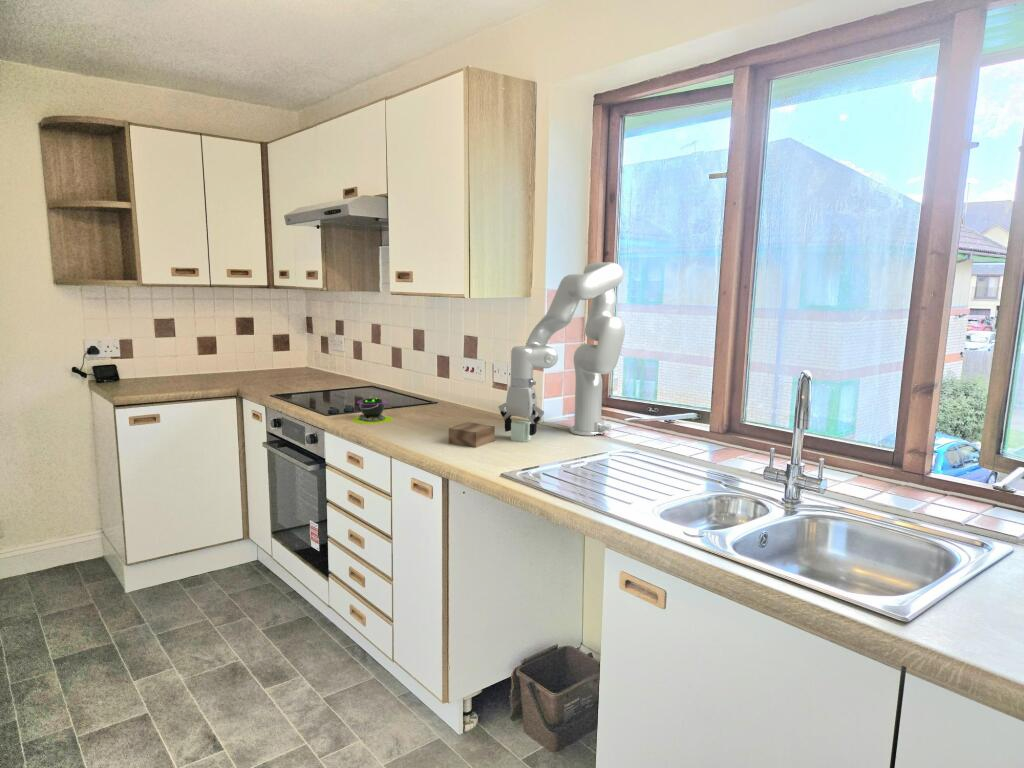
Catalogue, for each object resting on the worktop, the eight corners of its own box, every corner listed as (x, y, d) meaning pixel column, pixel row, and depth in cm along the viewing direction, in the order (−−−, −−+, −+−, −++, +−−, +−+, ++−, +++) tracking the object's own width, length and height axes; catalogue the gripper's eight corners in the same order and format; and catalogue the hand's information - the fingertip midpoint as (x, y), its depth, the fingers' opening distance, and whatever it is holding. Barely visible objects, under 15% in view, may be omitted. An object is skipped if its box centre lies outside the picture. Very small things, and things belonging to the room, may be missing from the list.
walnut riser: (494, 440, 225) (494, 426, 224) (475, 447, 216) (476, 432, 215) (468, 436, 231) (468, 422, 230) (448, 442, 221) (448, 428, 221)
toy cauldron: (345, 419, 256) (344, 391, 254) (379, 414, 266) (378, 387, 264) (365, 425, 245) (364, 396, 243) (399, 420, 255) (399, 392, 254)
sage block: (531, 439, 228) (531, 422, 227) (523, 442, 224) (523, 424, 223) (518, 437, 230) (518, 420, 229) (510, 440, 226) (511, 423, 225)
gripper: (549, 384, 223) (547, 434, 225) (505, 379, 231) (504, 427, 234) (538, 387, 216) (536, 438, 219) (493, 381, 225) (492, 431, 228)
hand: (520, 432), depth 226 cm, fingers open, 9 cm apart
